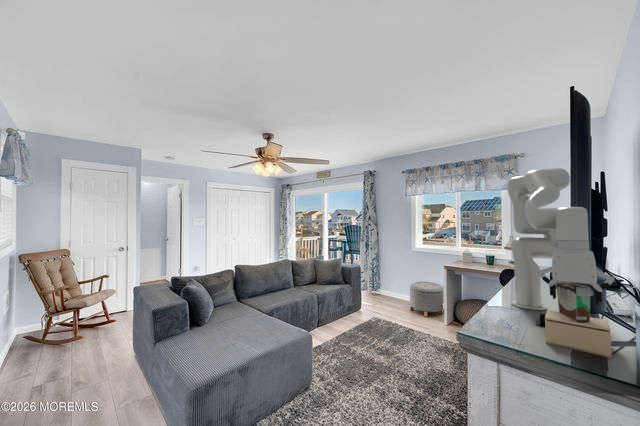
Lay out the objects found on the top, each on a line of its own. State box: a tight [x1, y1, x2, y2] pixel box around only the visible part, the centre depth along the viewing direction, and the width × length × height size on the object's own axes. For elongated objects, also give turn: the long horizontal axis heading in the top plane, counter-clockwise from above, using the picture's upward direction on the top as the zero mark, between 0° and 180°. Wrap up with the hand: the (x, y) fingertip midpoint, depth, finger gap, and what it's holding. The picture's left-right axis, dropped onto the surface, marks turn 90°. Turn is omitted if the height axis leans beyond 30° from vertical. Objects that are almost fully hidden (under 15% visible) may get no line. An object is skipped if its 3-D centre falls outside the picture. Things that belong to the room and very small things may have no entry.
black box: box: [534, 310, 547, 329], centre depth 101 cm, size 12×7×5 cm, turn 139°
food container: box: [555, 281, 595, 322], centre depth 83 cm, size 12×6×10 cm, turn 162°
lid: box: [545, 309, 611, 332], centre depth 83 cm, size 11×14×1 cm
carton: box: [544, 319, 613, 359], centre depth 83 cm, size 11×14×7 cm
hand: (574, 301), depth 84 cm, fingers open, 9 cm apart
